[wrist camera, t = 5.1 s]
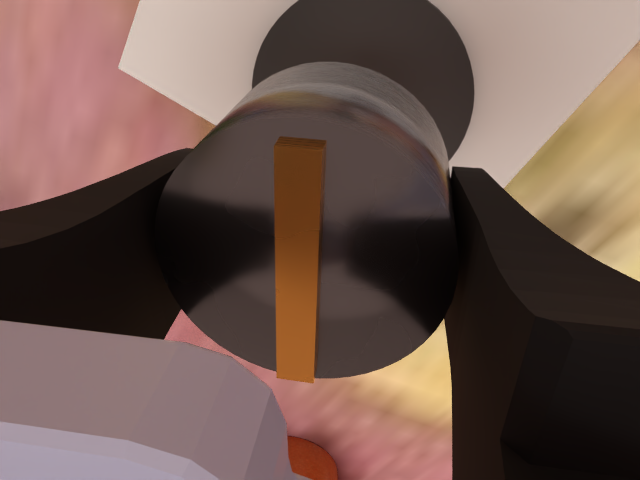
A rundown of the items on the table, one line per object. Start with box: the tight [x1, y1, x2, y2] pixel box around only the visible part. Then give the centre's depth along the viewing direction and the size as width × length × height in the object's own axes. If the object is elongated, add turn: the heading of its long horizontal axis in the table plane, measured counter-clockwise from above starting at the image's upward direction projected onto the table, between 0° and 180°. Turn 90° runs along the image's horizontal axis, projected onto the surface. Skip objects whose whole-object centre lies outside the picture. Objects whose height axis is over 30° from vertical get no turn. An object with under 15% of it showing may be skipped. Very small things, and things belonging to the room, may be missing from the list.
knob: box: [154, 62, 459, 383], centre depth 10 cm, size 5×5×4 cm
